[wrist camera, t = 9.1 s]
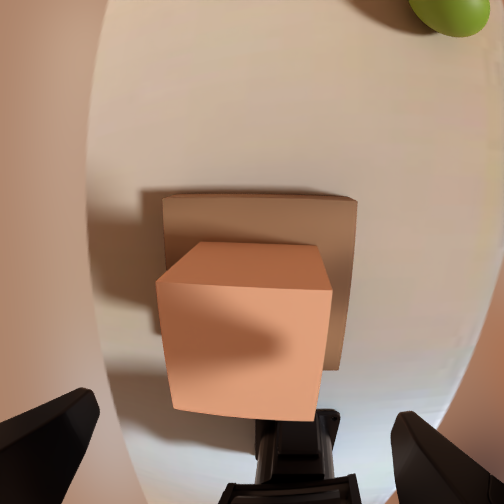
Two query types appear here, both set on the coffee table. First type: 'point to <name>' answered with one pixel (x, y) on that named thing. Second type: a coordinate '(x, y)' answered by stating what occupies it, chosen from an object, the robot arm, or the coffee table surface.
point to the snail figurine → (453, 15)
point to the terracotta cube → (246, 329)
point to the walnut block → (272, 236)
